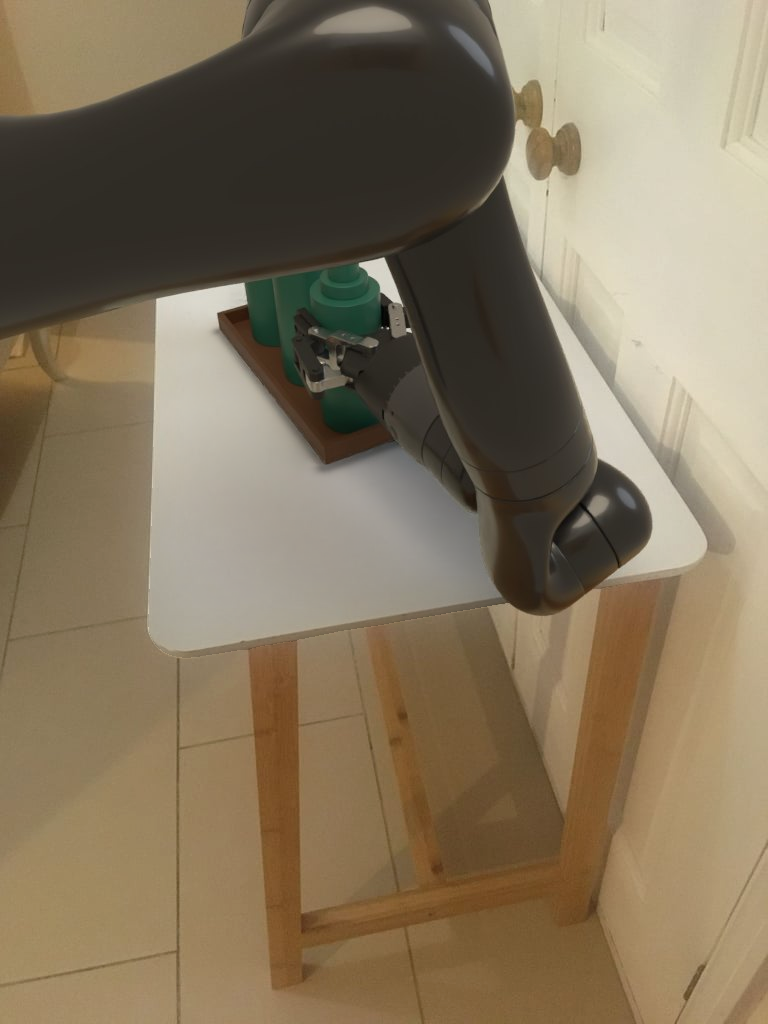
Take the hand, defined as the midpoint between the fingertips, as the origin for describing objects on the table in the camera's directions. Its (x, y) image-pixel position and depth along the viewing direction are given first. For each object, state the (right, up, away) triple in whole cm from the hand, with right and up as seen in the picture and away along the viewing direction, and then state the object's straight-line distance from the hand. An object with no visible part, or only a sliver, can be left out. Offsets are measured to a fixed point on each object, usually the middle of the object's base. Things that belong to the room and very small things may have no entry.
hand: (334, 308), depth 76 cm
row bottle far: (-7, +1, +16) cm, 18 cm away
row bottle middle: (-3, -4, +11) cm, 12 cm away
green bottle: (+1, -9, +5) cm, 10 cm away
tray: (-3, -4, +11) cm, 12 cm away
